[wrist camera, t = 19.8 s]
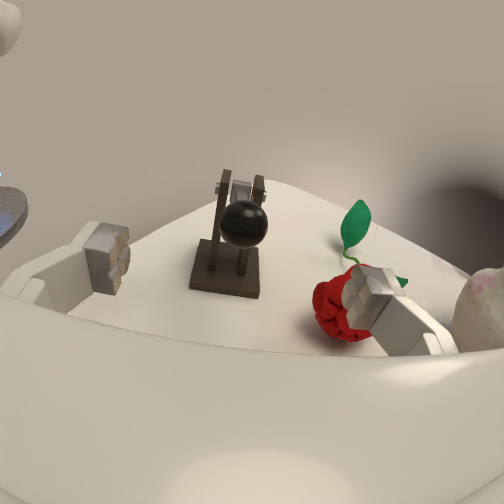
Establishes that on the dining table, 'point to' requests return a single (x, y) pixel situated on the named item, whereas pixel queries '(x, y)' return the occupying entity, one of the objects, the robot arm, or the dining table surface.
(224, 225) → the lever
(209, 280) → the bracket
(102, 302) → the dining table surface
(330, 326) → the decorative flower
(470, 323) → the ceramic pitcher
